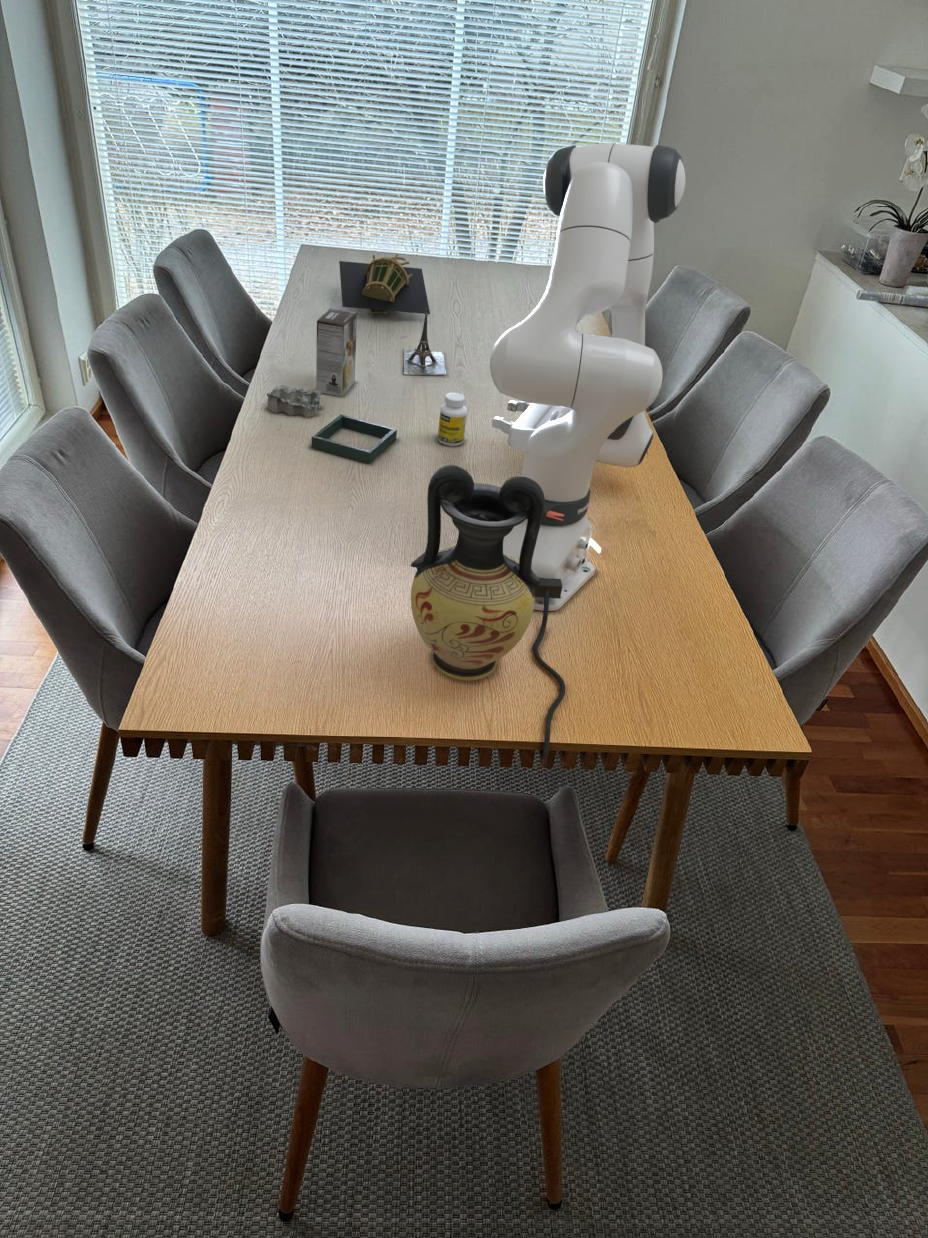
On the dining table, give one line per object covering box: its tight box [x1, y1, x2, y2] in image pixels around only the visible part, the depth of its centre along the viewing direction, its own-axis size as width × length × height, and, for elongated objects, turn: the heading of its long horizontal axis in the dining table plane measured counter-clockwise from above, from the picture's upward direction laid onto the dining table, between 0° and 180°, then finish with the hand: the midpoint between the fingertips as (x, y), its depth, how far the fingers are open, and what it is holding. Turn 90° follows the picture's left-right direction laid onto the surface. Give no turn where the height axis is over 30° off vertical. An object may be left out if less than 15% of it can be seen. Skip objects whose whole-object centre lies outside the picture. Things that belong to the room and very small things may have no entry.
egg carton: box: [266, 384, 322, 418], centre depth 196 cm, size 11×8×4 cm
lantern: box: [338, 253, 431, 315], centre depth 255 cm, size 14×23×30 cm
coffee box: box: [315, 308, 358, 397], centre depth 204 cm, size 9×6×16 cm
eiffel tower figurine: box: [403, 310, 447, 376], centre depth 222 cm, size 15×10×13 cm
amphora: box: [410, 464, 545, 682], centre depth 126 cm, size 18×17×30 cm
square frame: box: [311, 413, 398, 465], centre depth 186 cm, size 13×13×2 cm
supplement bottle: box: [437, 392, 468, 447], centre depth 190 cm, size 5×5×10 cm
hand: (501, 412), depth 185 cm, fingers open, 8 cm apart
